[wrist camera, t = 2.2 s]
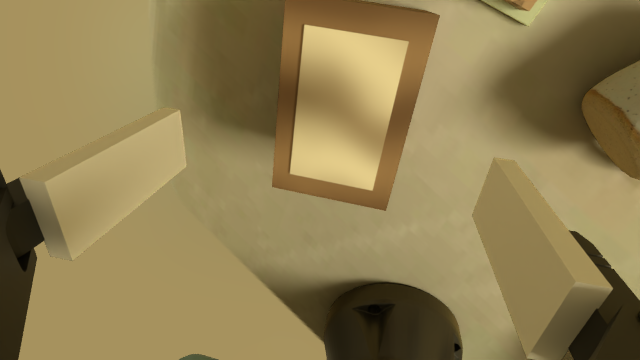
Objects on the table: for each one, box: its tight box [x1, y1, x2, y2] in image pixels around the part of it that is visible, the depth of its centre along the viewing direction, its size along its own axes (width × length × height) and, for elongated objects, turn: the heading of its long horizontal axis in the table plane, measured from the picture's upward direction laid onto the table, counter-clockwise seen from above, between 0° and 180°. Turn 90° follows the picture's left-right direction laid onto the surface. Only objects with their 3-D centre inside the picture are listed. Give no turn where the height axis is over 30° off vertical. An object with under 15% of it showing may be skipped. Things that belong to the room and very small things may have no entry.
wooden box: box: [272, 0, 440, 211], centre depth 24 cm, size 12×8×8 cm, turn 173°
